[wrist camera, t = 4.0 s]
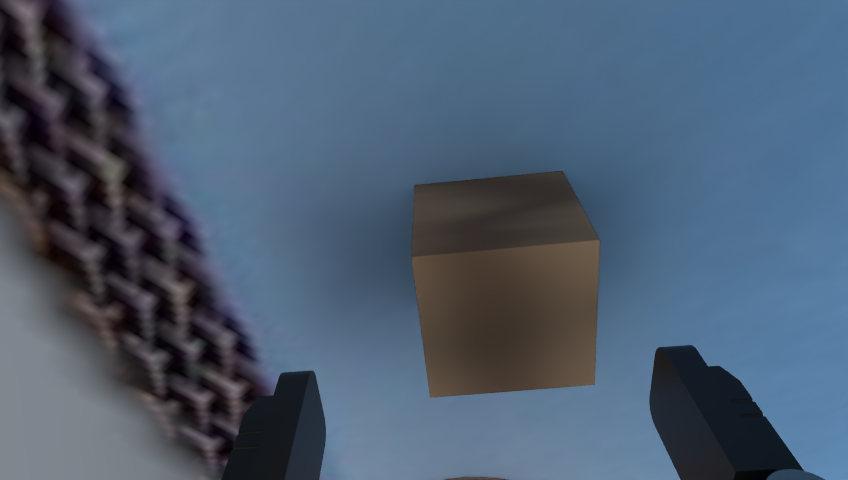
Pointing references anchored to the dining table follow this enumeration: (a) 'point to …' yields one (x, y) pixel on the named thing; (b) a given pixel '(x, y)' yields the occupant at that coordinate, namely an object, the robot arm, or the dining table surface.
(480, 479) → the upside-down peach bowl
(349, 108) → the dining table surface
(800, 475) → the robot arm
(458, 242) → the walnut block
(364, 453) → the dining table surface
